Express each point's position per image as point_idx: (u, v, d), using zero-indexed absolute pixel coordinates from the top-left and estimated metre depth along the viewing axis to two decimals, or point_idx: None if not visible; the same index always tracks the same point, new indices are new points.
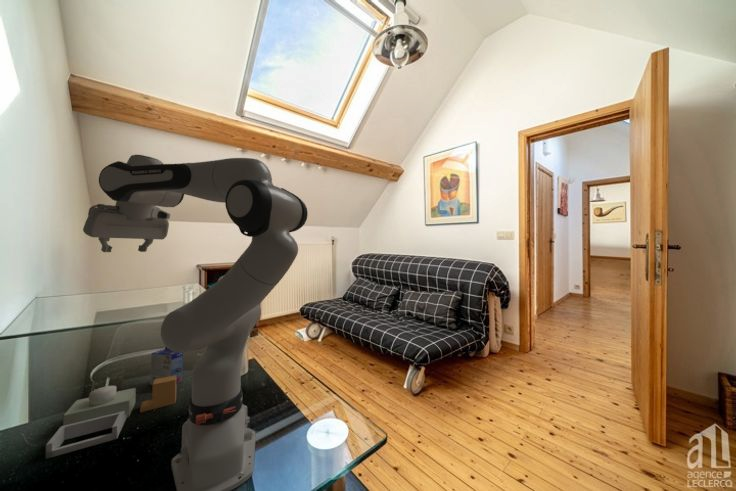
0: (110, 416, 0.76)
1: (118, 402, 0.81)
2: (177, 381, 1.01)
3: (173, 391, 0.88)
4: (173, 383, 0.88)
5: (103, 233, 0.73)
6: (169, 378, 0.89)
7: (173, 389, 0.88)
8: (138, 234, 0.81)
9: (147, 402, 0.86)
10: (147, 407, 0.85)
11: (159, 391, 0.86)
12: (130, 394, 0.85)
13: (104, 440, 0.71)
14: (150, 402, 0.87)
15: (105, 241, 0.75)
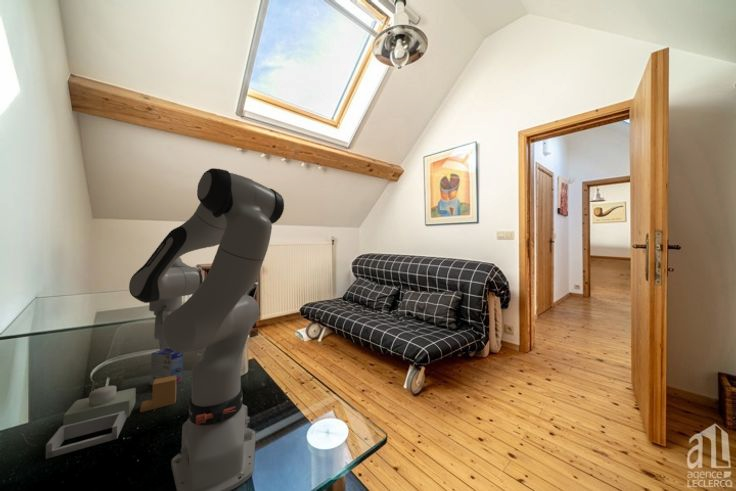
0: (110, 416, 0.76)
1: (118, 402, 0.81)
2: (177, 381, 1.01)
3: (173, 391, 0.88)
4: (173, 383, 0.88)
5: None
6: (169, 378, 0.89)
7: (173, 389, 0.88)
8: None
9: (147, 402, 0.86)
10: (147, 407, 0.85)
11: (159, 391, 0.86)
12: (130, 394, 0.85)
13: (104, 440, 0.71)
14: (150, 402, 0.87)
15: None
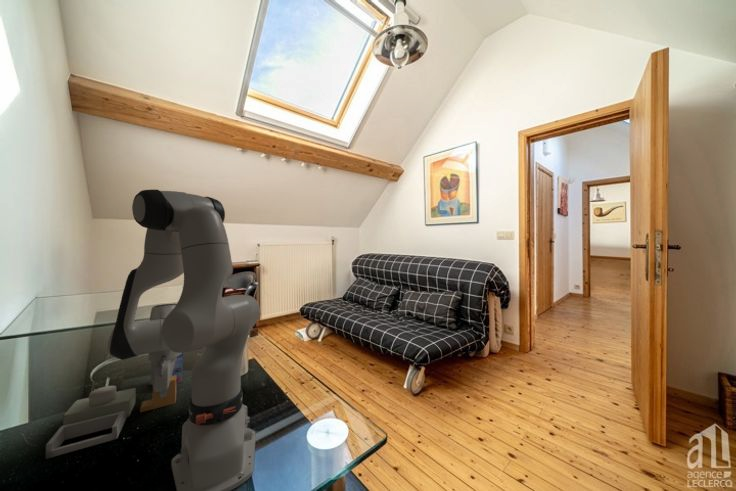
0: (110, 416, 0.76)
1: (118, 402, 0.81)
2: (177, 381, 1.01)
3: (173, 391, 0.88)
4: (173, 383, 0.88)
5: (169, 382, 0.83)
6: None
7: (173, 389, 0.88)
8: (172, 371, 0.91)
9: (147, 402, 0.86)
10: (147, 407, 0.85)
11: None
12: (130, 394, 0.85)
13: (104, 440, 0.71)
14: (150, 402, 0.87)
15: None
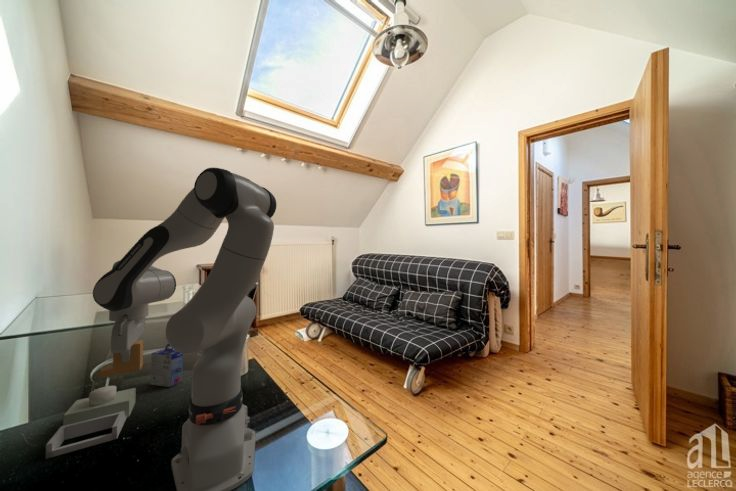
0: (110, 416, 0.76)
1: (118, 402, 0.81)
2: (177, 381, 1.01)
3: (137, 356, 0.79)
4: (138, 347, 0.79)
5: (130, 344, 0.74)
6: None
7: (137, 354, 0.79)
8: (137, 335, 0.82)
9: (108, 367, 0.78)
10: (106, 371, 0.76)
11: None
12: (130, 394, 0.85)
13: (104, 440, 0.71)
14: (112, 367, 0.78)
15: (129, 349, 0.77)
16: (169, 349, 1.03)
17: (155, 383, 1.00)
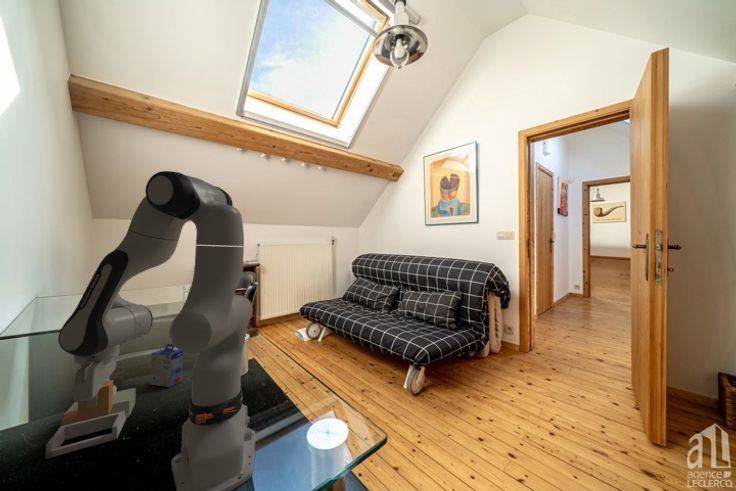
0: (110, 416, 0.76)
1: (118, 402, 0.81)
2: (177, 381, 1.01)
3: (106, 400, 0.72)
4: (106, 390, 0.72)
5: (97, 389, 0.68)
6: None
7: (106, 397, 0.72)
8: (107, 375, 0.75)
9: (72, 413, 0.71)
10: (70, 419, 0.69)
11: None
12: (130, 394, 0.85)
13: (104, 440, 0.71)
14: (77, 413, 0.71)
15: (97, 394, 0.70)
16: (169, 349, 1.03)
17: (155, 383, 1.00)
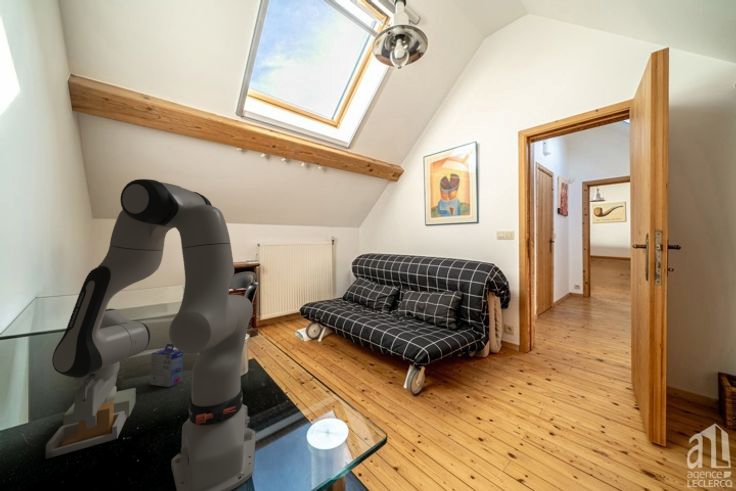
0: None
1: (118, 402, 0.81)
2: (177, 381, 1.01)
3: (106, 422, 0.72)
4: (106, 412, 0.72)
5: (97, 407, 0.68)
6: (102, 406, 0.73)
7: (106, 420, 0.72)
8: (107, 391, 0.75)
9: (73, 436, 0.71)
10: (70, 443, 0.69)
11: None
12: (130, 394, 0.85)
13: (104, 440, 0.71)
14: (77, 436, 0.71)
15: None
16: (169, 349, 1.03)
17: (155, 383, 1.00)
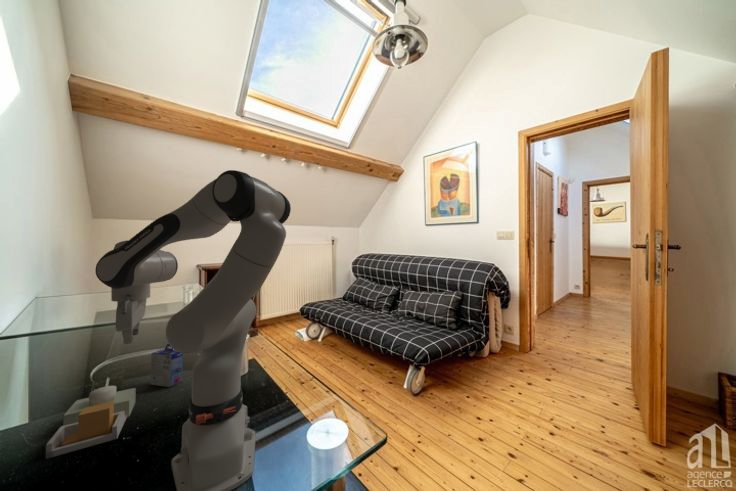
0: None
1: (118, 402, 0.81)
2: (177, 381, 1.01)
3: (106, 422, 0.72)
4: (106, 412, 0.72)
5: (134, 323, 0.75)
6: (102, 406, 0.73)
7: (106, 420, 0.72)
8: (140, 316, 0.82)
9: (73, 436, 0.71)
10: (70, 443, 0.69)
11: (88, 424, 0.70)
12: (130, 394, 0.85)
13: (104, 440, 0.71)
14: (77, 436, 0.71)
15: (132, 331, 0.76)
16: (169, 349, 1.03)
17: (155, 383, 1.00)
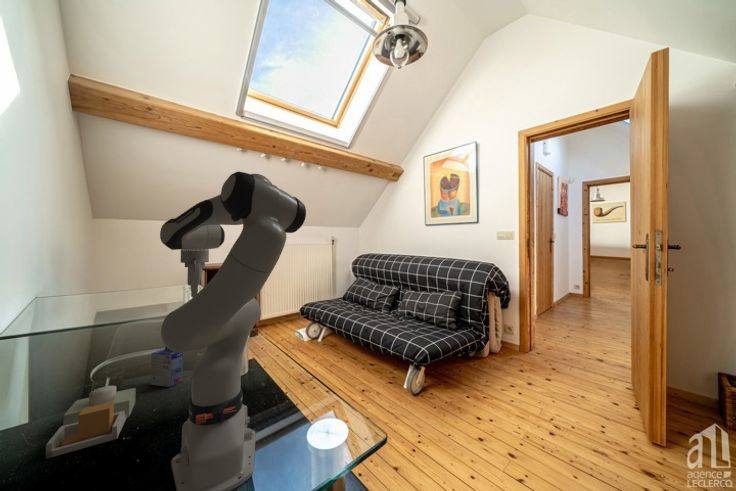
0: None
1: (118, 402, 0.81)
2: (177, 381, 1.01)
3: (106, 422, 0.72)
4: (106, 412, 0.72)
5: None
6: (102, 406, 0.73)
7: (106, 420, 0.72)
8: None
9: (73, 436, 0.71)
10: (70, 443, 0.69)
11: (88, 424, 0.70)
12: (130, 394, 0.85)
13: (104, 440, 0.71)
14: (77, 436, 0.71)
15: (197, 287, 0.93)
16: (169, 349, 1.03)
17: (155, 383, 1.00)
